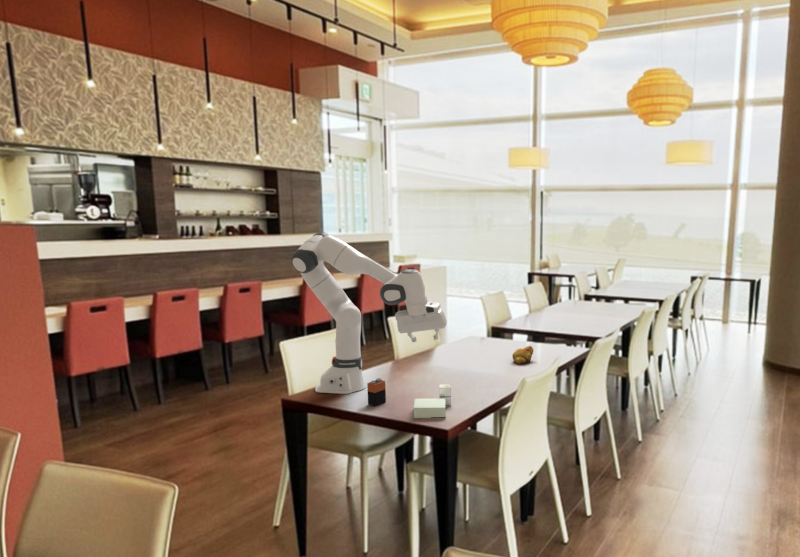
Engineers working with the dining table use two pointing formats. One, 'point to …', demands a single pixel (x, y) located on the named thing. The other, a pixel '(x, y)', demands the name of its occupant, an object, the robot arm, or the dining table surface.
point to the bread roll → (523, 355)
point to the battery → (376, 392)
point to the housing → (445, 393)
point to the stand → (429, 408)
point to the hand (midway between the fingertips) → (425, 340)
